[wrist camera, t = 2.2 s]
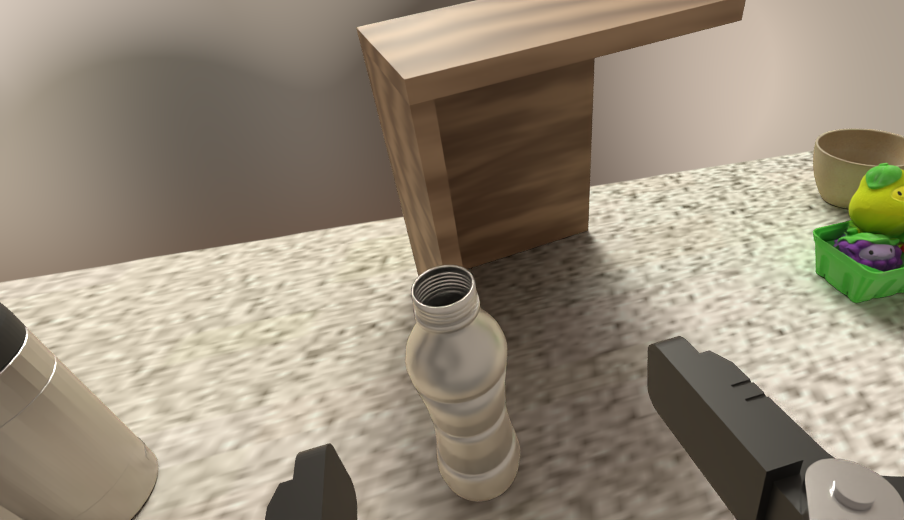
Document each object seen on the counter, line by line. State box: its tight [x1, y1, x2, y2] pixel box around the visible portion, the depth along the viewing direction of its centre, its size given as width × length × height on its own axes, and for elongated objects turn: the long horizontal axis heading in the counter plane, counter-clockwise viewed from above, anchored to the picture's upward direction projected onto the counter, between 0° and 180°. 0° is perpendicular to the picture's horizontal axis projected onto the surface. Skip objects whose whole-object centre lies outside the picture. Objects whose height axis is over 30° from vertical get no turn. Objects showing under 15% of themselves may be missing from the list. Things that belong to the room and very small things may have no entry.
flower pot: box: [813, 129, 904, 209], centre depth 56 cm, size 10×10×7 cm
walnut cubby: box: [357, 0, 745, 276], centre depth 44 cm, size 19×23×29 cm
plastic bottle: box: [405, 265, 520, 502], centre depth 32 cm, size 6×7×20 cm
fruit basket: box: [813, 163, 904, 303], centre depth 45 cm, size 11×9×11 cm
